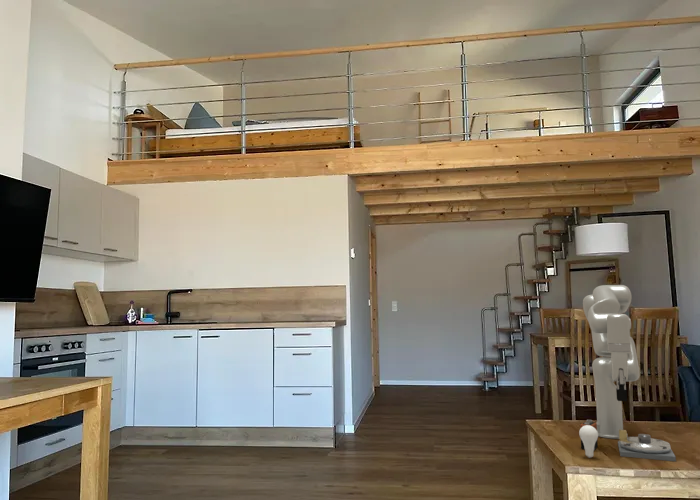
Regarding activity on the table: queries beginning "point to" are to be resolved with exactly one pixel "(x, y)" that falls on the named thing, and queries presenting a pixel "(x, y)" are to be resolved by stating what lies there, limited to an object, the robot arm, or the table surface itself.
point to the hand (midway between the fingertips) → (621, 400)
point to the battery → (592, 426)
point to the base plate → (646, 454)
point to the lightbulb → (588, 439)
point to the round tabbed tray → (643, 443)
